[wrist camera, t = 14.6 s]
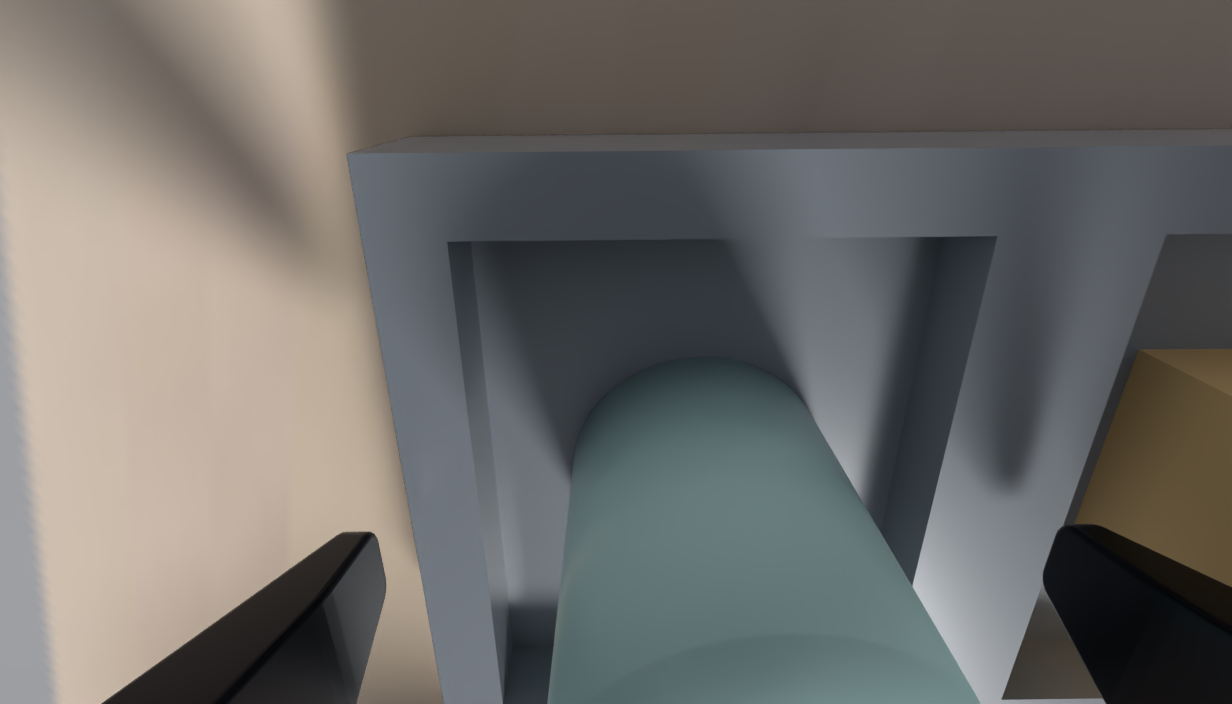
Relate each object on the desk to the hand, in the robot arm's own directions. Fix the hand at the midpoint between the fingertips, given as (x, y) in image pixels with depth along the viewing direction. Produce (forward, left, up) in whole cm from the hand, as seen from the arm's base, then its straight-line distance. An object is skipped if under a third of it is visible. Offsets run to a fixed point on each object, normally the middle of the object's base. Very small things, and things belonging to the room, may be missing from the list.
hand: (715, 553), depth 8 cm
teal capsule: (0, 0, -2) cm, 2 cm away
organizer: (-4, 0, -3) cm, 5 cm away
